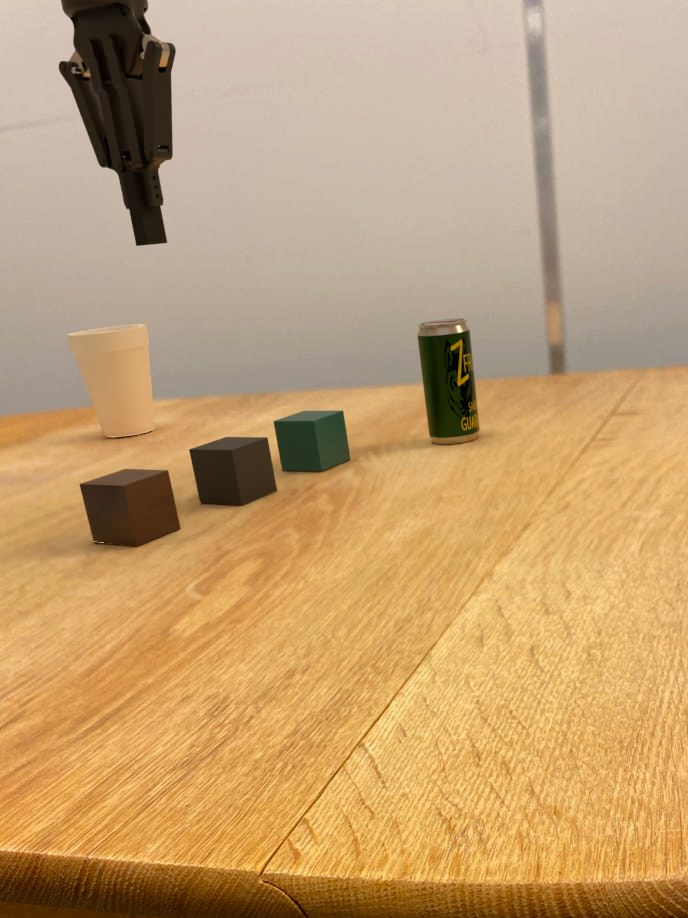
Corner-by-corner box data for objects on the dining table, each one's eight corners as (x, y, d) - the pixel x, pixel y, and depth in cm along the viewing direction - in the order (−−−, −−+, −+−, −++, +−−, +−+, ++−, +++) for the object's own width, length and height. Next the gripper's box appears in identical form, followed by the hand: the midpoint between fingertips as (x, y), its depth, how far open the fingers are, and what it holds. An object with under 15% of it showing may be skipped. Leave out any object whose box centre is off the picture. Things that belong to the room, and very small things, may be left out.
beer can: (421, 445, 111) (407, 327, 106) (441, 434, 115) (428, 320, 111) (469, 444, 109) (456, 323, 104) (487, 433, 113) (476, 316, 109)
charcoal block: (199, 503, 97) (188, 449, 95) (235, 489, 101) (226, 436, 99) (242, 505, 94) (231, 449, 93) (277, 490, 98) (267, 437, 97)
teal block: (281, 470, 106) (273, 421, 105) (311, 458, 110) (303, 410, 109) (321, 471, 104) (313, 420, 102) (350, 459, 108) (343, 410, 106)
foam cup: (135, 440, 132) (111, 332, 127) (77, 442, 135) (51, 337, 130) (181, 424, 140) (160, 322, 135) (124, 426, 143) (102, 326, 138)
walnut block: (93, 543, 87) (79, 483, 86) (138, 525, 91) (124, 468, 90) (137, 546, 85) (123, 485, 83) (180, 528, 89) (168, 469, 87)
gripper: (14, -27, 95) (75, 252, 104) (117, -58, 89) (173, 241, 98) (80, -16, 101) (132, 246, 110) (180, -44, 95) (228, 236, 104)
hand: (151, 244), depth 104 cm, fingers closed
